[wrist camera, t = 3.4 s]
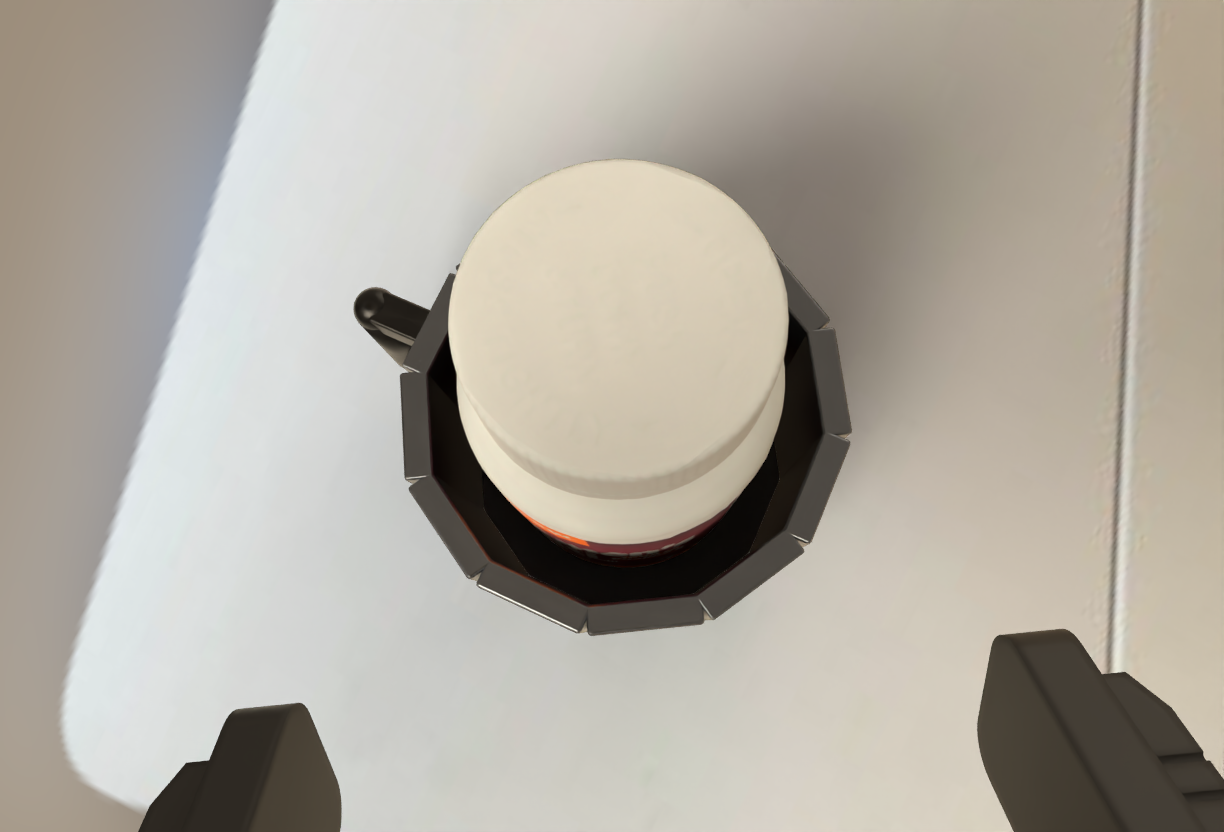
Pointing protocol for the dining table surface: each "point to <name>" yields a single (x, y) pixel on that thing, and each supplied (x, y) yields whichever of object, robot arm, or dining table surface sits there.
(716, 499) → the pill bottle
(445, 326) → the faceted grey mug
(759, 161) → the dining table surface
